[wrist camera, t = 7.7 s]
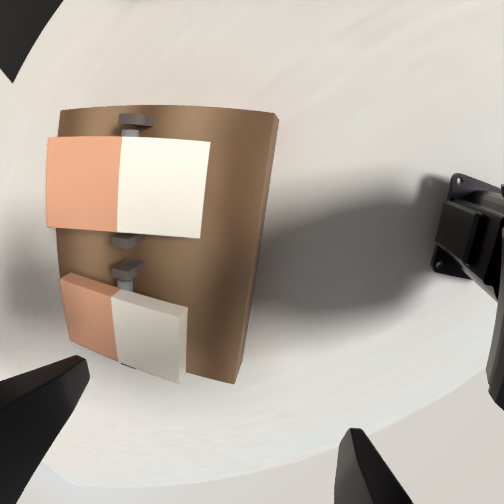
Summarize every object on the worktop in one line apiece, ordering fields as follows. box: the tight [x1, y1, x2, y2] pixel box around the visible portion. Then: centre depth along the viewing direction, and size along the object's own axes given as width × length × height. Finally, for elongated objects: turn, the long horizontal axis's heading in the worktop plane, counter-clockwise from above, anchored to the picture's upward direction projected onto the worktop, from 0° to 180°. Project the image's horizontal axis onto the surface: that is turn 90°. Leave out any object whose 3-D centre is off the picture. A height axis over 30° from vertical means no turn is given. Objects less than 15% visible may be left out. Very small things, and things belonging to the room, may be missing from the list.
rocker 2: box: [60, 273, 188, 383], centre depth 18 cm, size 9×6×2 cm, turn 82°
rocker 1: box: [46, 130, 210, 239], centre depth 15 cm, size 9×6×2 cm, turn 82°
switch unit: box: [56, 105, 279, 384], centre depth 19 cm, size 15×18×5 cm
